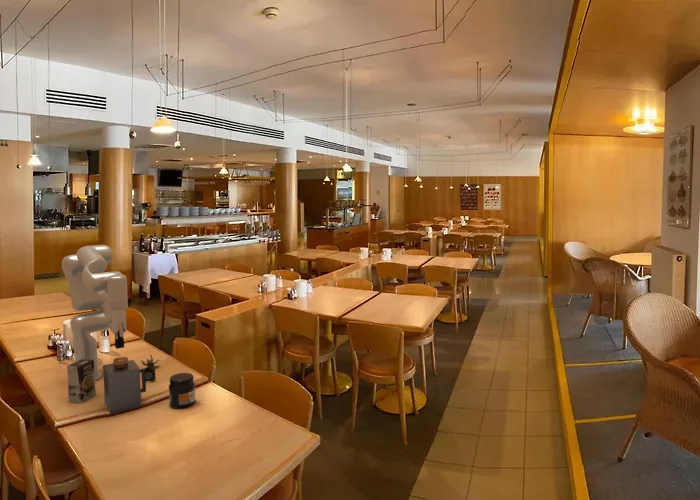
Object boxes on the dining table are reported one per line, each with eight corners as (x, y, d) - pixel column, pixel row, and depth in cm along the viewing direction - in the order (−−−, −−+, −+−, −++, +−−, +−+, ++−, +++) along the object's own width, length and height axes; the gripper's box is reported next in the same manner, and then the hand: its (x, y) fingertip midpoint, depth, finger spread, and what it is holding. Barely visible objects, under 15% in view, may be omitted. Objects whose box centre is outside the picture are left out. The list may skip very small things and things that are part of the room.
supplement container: (198, 405, 209) (197, 378, 208) (172, 411, 204) (171, 383, 202) (192, 396, 218) (191, 370, 217) (167, 401, 213) (166, 375, 211)
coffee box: (81, 403, 211) (79, 366, 209) (68, 401, 212) (66, 365, 210) (96, 394, 220) (94, 359, 218) (83, 393, 221) (81, 358, 219)
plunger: (108, 399, 210) (105, 358, 208) (132, 394, 216) (130, 353, 214) (112, 408, 202) (110, 365, 200) (137, 402, 208) (135, 360, 206)
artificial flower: (137, 386, 232) (131, 366, 232) (148, 374, 254) (142, 356, 254) (157, 380, 234) (150, 360, 233) (165, 368, 256) (159, 350, 255)
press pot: (104, 403, 211) (102, 365, 209) (142, 395, 220) (141, 358, 217) (110, 413, 201) (107, 374, 199) (149, 404, 210) (147, 366, 208)
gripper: (104, 302, 208) (106, 344, 211) (111, 309, 196) (113, 354, 198) (123, 299, 212) (125, 341, 215) (131, 307, 200) (133, 351, 203)
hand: (119, 347), depth 207 cm, fingers closed
